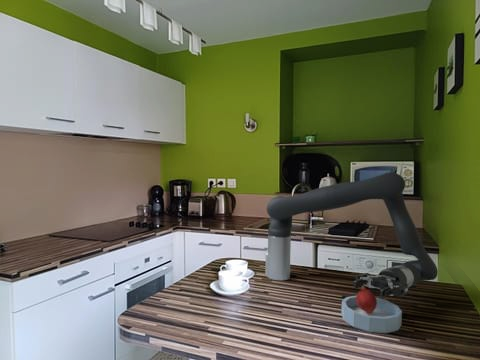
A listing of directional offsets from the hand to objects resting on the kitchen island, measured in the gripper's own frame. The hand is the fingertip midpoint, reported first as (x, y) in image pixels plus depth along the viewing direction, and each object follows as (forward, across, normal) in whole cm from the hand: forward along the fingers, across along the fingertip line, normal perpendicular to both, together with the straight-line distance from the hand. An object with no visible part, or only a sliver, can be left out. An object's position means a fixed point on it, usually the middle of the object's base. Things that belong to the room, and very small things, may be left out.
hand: (367, 289), depth 96 cm
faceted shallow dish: (-2, 0, +10) cm, 10 cm away
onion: (-2, 0, +8) cm, 8 cm away
